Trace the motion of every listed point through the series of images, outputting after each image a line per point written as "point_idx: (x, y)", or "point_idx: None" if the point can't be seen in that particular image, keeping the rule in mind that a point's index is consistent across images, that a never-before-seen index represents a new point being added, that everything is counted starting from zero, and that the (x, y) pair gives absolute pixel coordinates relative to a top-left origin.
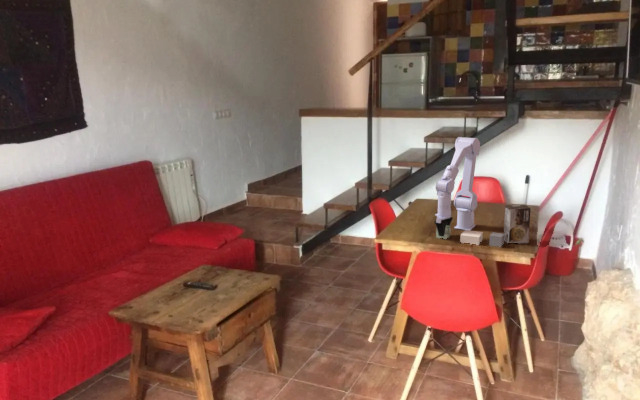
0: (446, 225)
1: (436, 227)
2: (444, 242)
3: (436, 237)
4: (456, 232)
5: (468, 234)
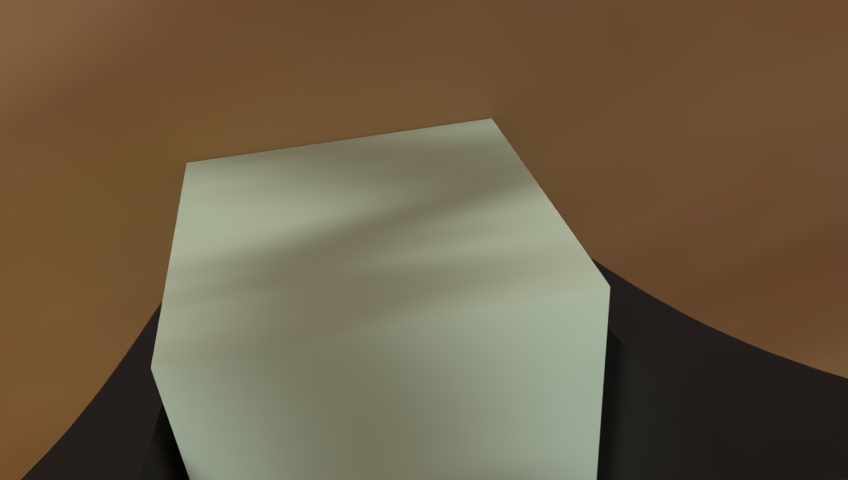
0: (610, 464)
1: (158, 367)
2: (21, 456)
3: (189, 178)
4: (825, 305)
5: None
